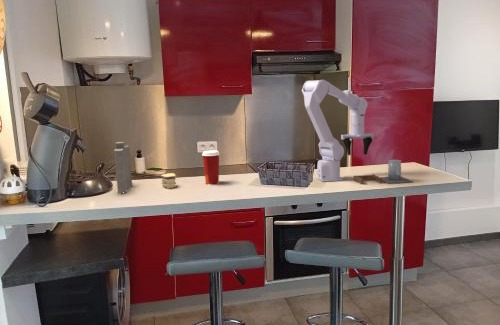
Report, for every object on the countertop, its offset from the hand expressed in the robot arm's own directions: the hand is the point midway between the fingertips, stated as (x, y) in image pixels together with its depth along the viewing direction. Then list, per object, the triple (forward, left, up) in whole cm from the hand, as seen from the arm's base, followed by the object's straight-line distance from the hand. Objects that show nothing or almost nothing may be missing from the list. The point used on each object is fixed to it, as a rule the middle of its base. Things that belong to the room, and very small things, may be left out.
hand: (357, 154), depth 184 cm
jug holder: (-1, -15, -9) cm, 18 cm away
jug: (+10, -16, -9) cm, 21 cm away
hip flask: (-103, -2, -10) cm, 103 cm away
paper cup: (-66, 0, -10) cm, 67 cm away
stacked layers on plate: (-84, -2, -10) cm, 85 cm away
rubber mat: (+11, -15, -9) cm, 21 cm away
